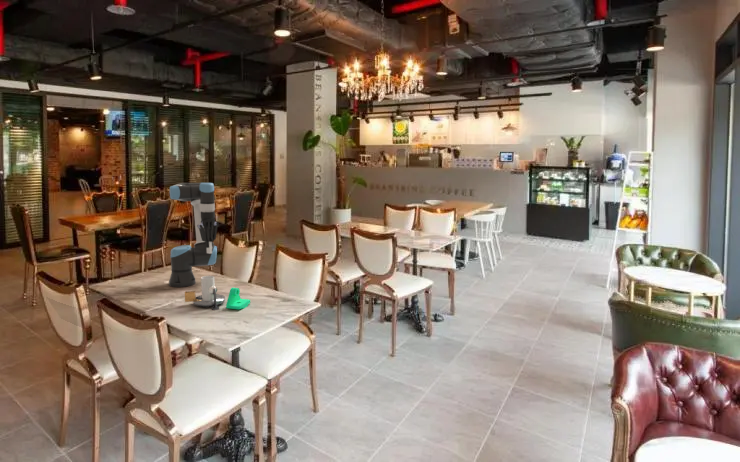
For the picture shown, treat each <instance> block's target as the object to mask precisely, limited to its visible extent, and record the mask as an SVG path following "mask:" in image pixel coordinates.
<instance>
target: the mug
mask: <svg viewBox="0 0 740 462" xmlns="http://www.w3.org/2000/svg"><path fill="white" fill-rule="evenodd" d="M200 283H201V284H200V286H201V295H202V299H203V300H204V301H211V300H214V295H211V294H209V293H208V289H209V287H210V286H215V285H216V284H215V276H213V275H204V276H201V277H200ZM215 287H216V286H215Z"/></svg>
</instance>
